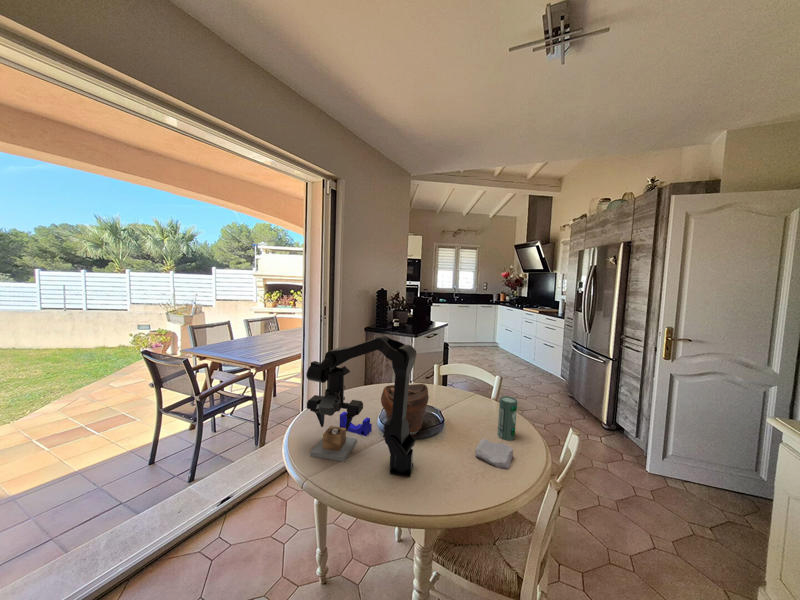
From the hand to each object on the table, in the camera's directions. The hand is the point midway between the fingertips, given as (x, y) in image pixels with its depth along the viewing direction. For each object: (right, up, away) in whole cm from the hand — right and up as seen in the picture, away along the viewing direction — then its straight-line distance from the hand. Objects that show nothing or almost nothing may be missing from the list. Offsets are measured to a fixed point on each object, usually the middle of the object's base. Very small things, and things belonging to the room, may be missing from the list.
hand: (334, 428), depth 105 cm
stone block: (+55, -10, -1) cm, 56 cm away
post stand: (0, -8, +1) cm, 8 cm away
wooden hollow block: (0, -6, 0) cm, 6 cm away
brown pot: (+24, -7, +16) cm, 30 cm away
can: (+64, -9, +13) cm, 66 cm away
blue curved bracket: (+5, -7, +14) cm, 17 cm away
